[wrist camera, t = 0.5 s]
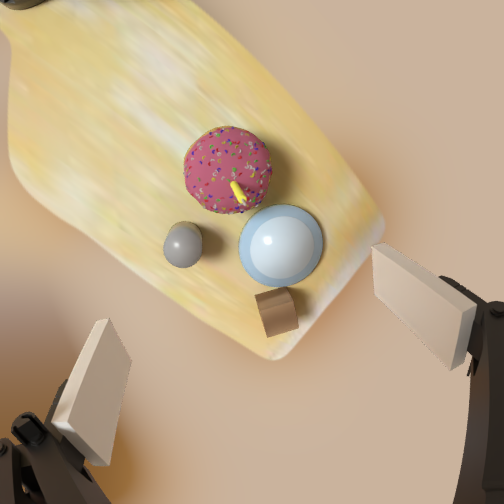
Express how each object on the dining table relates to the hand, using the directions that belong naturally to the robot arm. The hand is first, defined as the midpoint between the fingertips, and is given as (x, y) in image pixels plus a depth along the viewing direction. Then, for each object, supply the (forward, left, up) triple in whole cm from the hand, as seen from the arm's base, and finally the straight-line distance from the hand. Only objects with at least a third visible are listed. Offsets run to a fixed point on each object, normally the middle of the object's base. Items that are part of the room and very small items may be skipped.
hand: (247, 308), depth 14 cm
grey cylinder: (+2, -5, -22) cm, 22 cm away
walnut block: (+13, +3, -22) cm, 26 cm away
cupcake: (-5, +2, -22) cm, 22 cm away
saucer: (+6, +6, -22) cm, 23 cm away
